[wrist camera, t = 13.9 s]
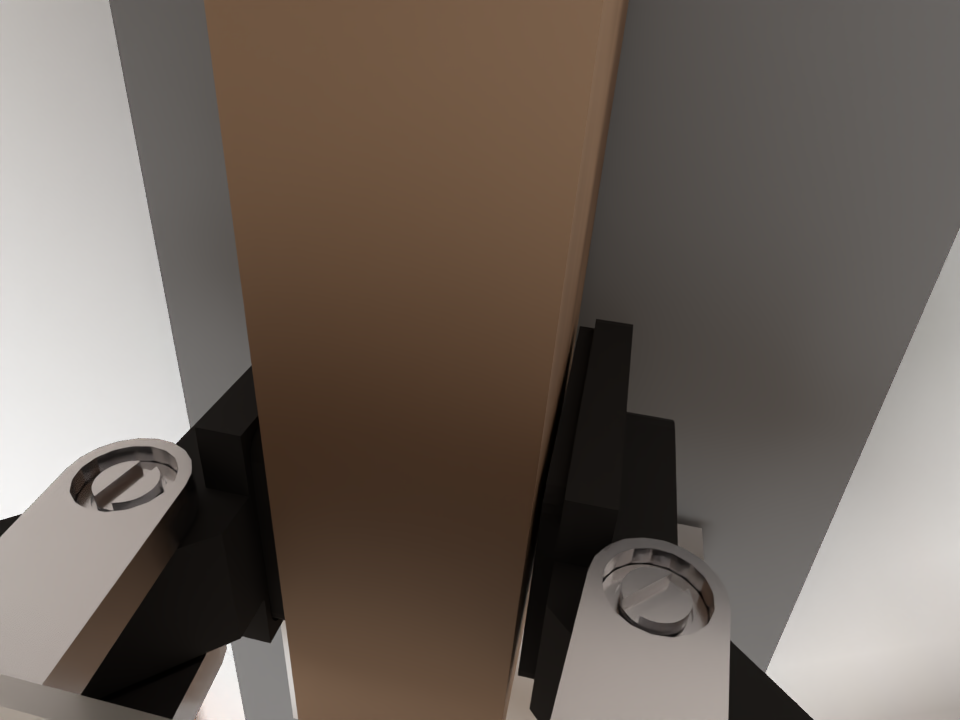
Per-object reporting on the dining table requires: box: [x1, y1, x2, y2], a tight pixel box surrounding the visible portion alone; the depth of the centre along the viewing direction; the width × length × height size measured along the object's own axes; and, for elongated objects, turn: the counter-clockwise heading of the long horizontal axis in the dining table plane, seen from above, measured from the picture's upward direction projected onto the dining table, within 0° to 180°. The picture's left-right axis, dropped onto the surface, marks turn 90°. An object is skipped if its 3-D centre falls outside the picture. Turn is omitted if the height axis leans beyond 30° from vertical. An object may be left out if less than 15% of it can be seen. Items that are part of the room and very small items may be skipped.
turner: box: [204, 0, 704, 720], centre depth 10 cm, size 18×8×5 cm, turn 175°
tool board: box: [109, 0, 960, 720], centre depth 14 cm, size 22×12×2 cm, turn 176°
